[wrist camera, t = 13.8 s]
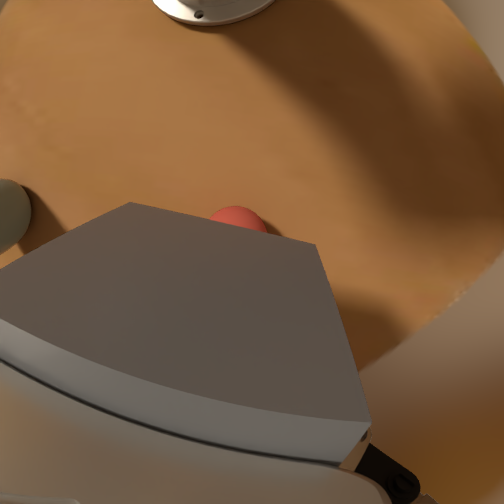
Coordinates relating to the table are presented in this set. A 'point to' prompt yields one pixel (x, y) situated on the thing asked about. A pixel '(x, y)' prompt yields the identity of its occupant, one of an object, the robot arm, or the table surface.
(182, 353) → the matte gray cube
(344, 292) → the table surface
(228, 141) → the table surface
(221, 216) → the ball
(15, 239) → the cup
